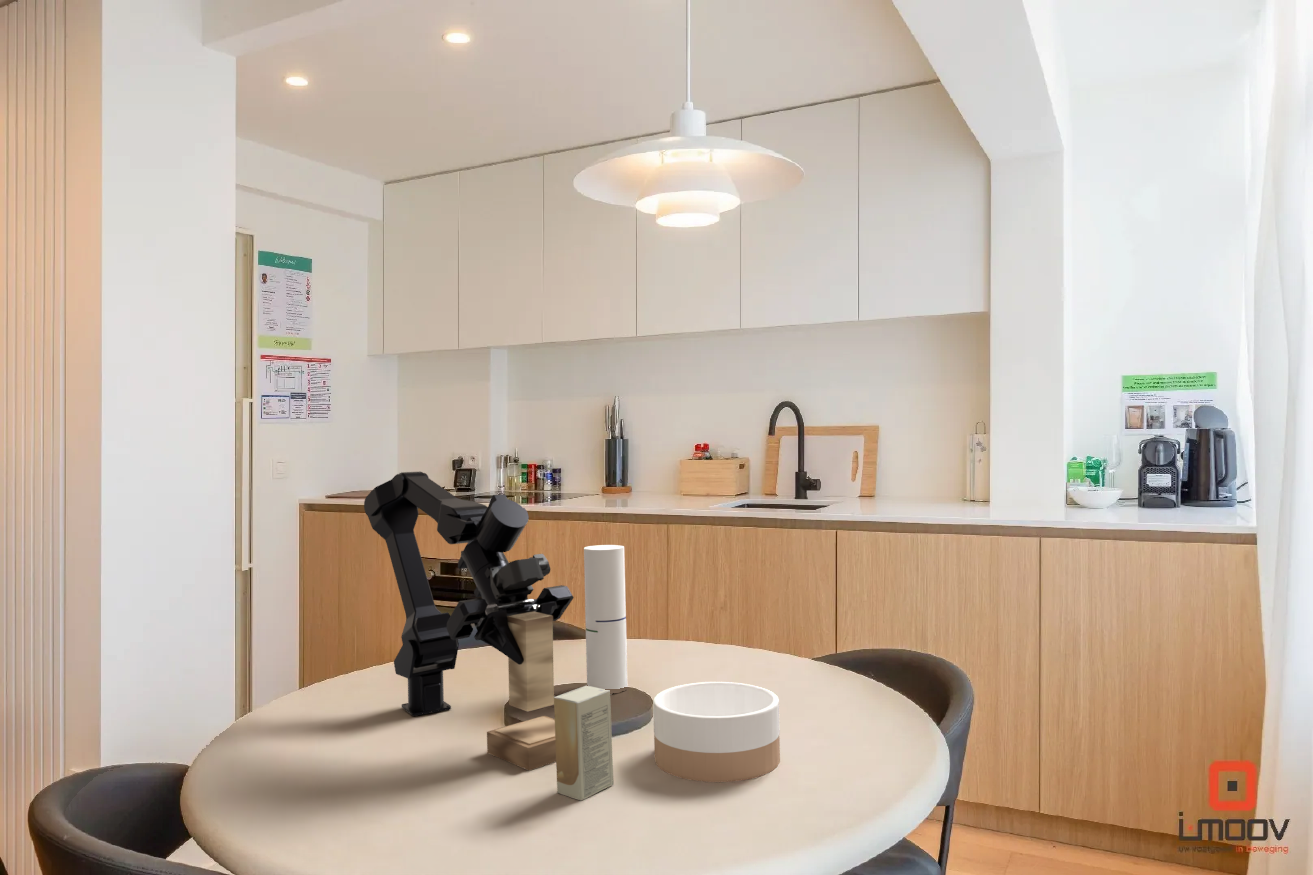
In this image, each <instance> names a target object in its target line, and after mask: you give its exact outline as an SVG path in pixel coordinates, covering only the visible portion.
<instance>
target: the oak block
mask: <svg viewBox="0 0 1313 875" xmlns="http://www.w3.org/2000/svg"><path fill="white" fill-rule="evenodd" d="M507 620H508V626H509V628H510V630H511V632H512V634H513V636H514V638H515V640H516V642H517V644H518V646H519V648H520V650H521V653H522V656H523V658H524V661H523V663H522V664H520V665H519V664H517V663H516V662H514V661H513V660H511V659H510V658H509V657H507V662H508V704H509V706H511V707H514V708H516V709H519V710H522V711H525V712H531V711H535V710H538V709H543V708H547V707H551V706H554V697H555V686H554V685H555V683H554V682H555V678H554V677H555V676H554V633H553V632H554V630H553V628H554V627H553V626H554V625H553V623H554V621H553V616H552V615H547V614H543V613H539V612H528V613H523V614H517V615H511V616H507Z"/></svg>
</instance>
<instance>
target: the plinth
mask: <svg viewBox="0 0 1313 875" xmlns="http://www.w3.org/2000/svg"><path fill="white" fill-rule="evenodd" d="M486 752H487V754H489V755H491V756H494V757H496V758H498V759H500V760H503V761H505V762H508V763H509V764H512V765H515V766H517V767H519V768H522V769H524V770H527V771H529V772H530V771H532V770H535V769H536V770H537V769H538V768H542V767H543V766H548V765H551V764H554V763H556V741H555V718H553V717H550V716H547V715H541V716H537V717H534V718H531V719H530V718H529V719H527V720H523V721H520V722H517V723H512V724H509V725H505V726H503V727H498V728H495V729H492V730H488V731H486Z"/></svg>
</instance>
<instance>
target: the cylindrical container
mask: <svg viewBox="0 0 1313 875" xmlns="http://www.w3.org/2000/svg"><path fill="white" fill-rule="evenodd" d="M583 559H584V560H583V562H584V563H583V565H584V566H583V568H584V573H583V574H584V604H585V605H584V612H585V615H584V616H585V618H584V619H585V647H586V648H585V652H586V653H585V656H586V686H587V685H588V686H591V687H596V688H601V689H620V688H624V687H628V688H629V686H628V654H627V652H628V650H627V649H628V648H627V647H628V646H627V617H626V616H627V610H626V609H627V608H626V605H627V604H626V602H627V600H626V567H625V566H626V565H625V564H626V563H625V562H626V560H625V546H624V545H619V544H618V545H617V544H599V545H588V546H585V547H584V548H583Z"/></svg>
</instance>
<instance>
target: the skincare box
mask: <svg viewBox="0 0 1313 875" xmlns="http://www.w3.org/2000/svg"><path fill="white" fill-rule="evenodd" d="M553 706H554V707H553V708H554V709H553V710H554V711H553V712H554V719H555V741H556V762H555V763H556V764H555V765H556V767H555V768H556V791H557V794H561V795H562V796H566V797H569V798H572V799H576V800H578V801H583V800H585V799H587V798H589V797H591V796H593V795H596V794H597V793H599V792H601V791H603V790H605V789H606V788H609V787H610V786H613V785H614V765H613V764H614V763H613V762H614V761H613V742H612V741H613V740H612V712H611V710H612V709H611V694H610V690H605V689H601V688H596V687H591V686H587V685H584V686H581V687H578V688H576V689H572V690H570V691H567V692H564V693H562V694H559V695H557V696H554V705H553Z"/></svg>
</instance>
